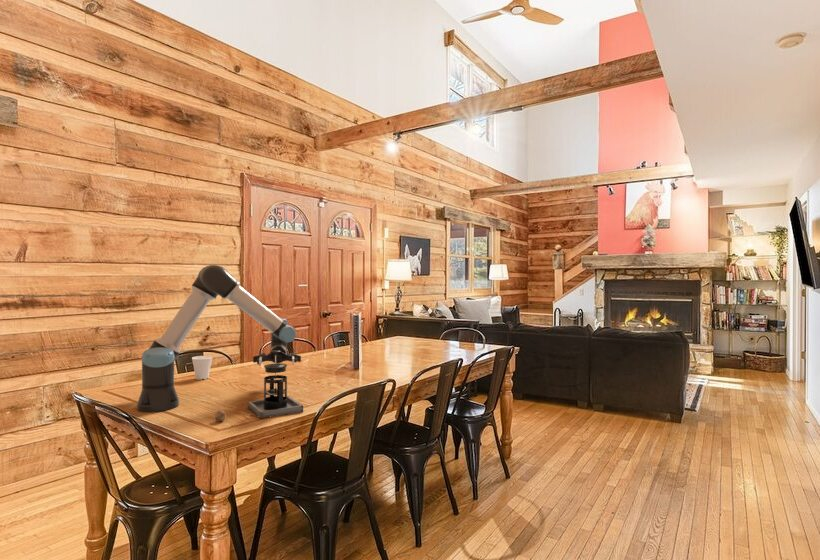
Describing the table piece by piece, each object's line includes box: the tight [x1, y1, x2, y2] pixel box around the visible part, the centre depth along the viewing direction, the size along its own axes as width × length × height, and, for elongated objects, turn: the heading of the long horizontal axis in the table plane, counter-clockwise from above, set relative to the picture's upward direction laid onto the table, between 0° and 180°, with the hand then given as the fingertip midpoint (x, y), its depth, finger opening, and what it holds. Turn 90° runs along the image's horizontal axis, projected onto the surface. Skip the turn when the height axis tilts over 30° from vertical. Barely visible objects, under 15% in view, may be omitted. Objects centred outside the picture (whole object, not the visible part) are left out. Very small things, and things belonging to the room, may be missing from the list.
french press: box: [263, 350, 288, 410], centre depth 193 cm, size 12×9×23 cm
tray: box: [247, 395, 304, 419], centre depth 193 cm, size 17×17×2 cm
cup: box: [191, 355, 214, 381], centre depth 247 cm, size 10×10×11 cm
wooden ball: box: [214, 409, 227, 422], centre depth 178 cm, size 4×4×4 cm
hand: (276, 362), depth 203 cm, fingers open, 13 cm apart
